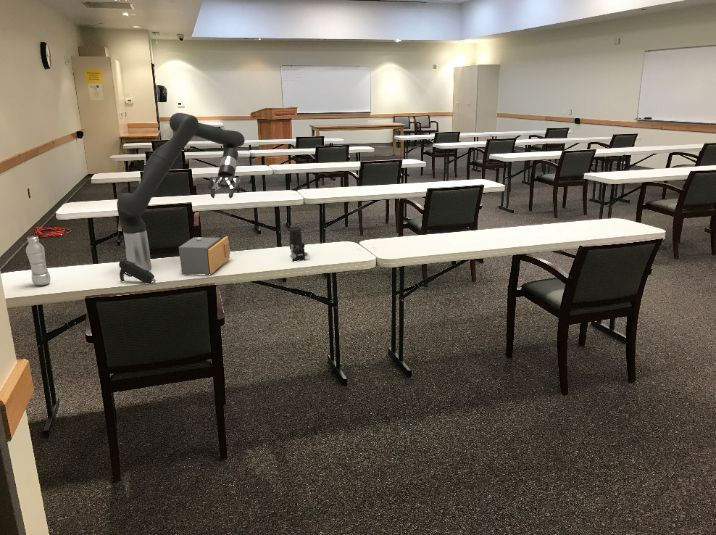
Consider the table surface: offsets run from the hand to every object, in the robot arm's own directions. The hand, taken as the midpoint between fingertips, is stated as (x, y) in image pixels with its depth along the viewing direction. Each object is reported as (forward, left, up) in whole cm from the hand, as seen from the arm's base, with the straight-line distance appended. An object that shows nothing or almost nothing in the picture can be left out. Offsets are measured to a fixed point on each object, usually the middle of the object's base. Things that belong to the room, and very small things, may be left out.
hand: (221, 197), depth 256 cm
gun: (+2, -48, -27) cm, 55 cm away
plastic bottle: (-28, -72, -27) cm, 82 cm away
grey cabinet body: (+10, -22, -27) cm, 36 cm away
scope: (+33, +13, -27) cm, 45 cm away
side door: (+15, -16, -26) cm, 34 cm away
